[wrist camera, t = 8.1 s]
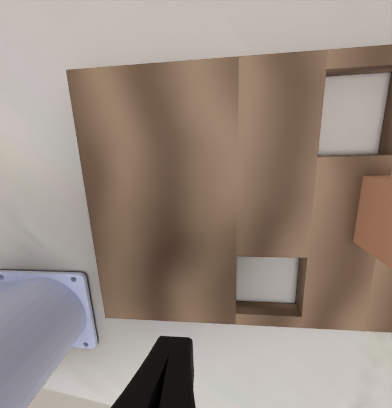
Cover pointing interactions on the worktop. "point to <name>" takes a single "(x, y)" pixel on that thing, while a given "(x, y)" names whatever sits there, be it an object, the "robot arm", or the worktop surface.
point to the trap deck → (228, 188)
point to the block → (375, 218)
